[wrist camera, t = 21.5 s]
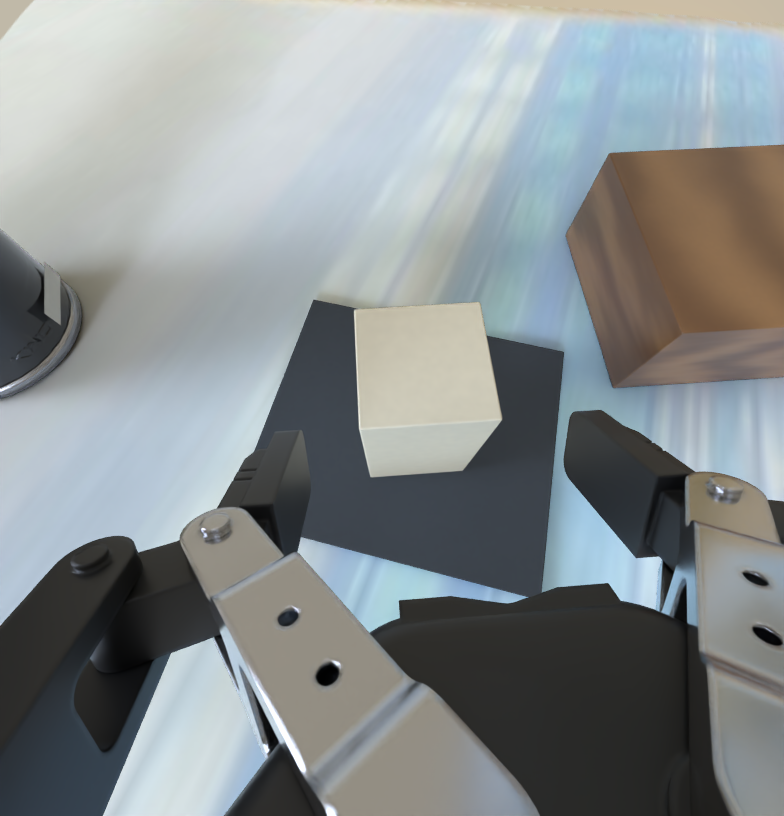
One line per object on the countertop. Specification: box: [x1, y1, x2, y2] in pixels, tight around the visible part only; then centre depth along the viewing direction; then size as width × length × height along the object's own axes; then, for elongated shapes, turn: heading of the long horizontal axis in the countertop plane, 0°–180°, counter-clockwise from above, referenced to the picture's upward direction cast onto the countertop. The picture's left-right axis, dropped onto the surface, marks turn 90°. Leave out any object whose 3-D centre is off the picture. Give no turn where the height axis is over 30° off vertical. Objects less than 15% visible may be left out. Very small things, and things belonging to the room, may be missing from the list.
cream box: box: [354, 302, 502, 477], centre depth 18 cm, size 5×5×8 cm
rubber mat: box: [254, 300, 564, 597], centre depth 22 cm, size 16×14×1 cm
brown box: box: [566, 145, 784, 388], centre depth 23 cm, size 12×12×6 cm
